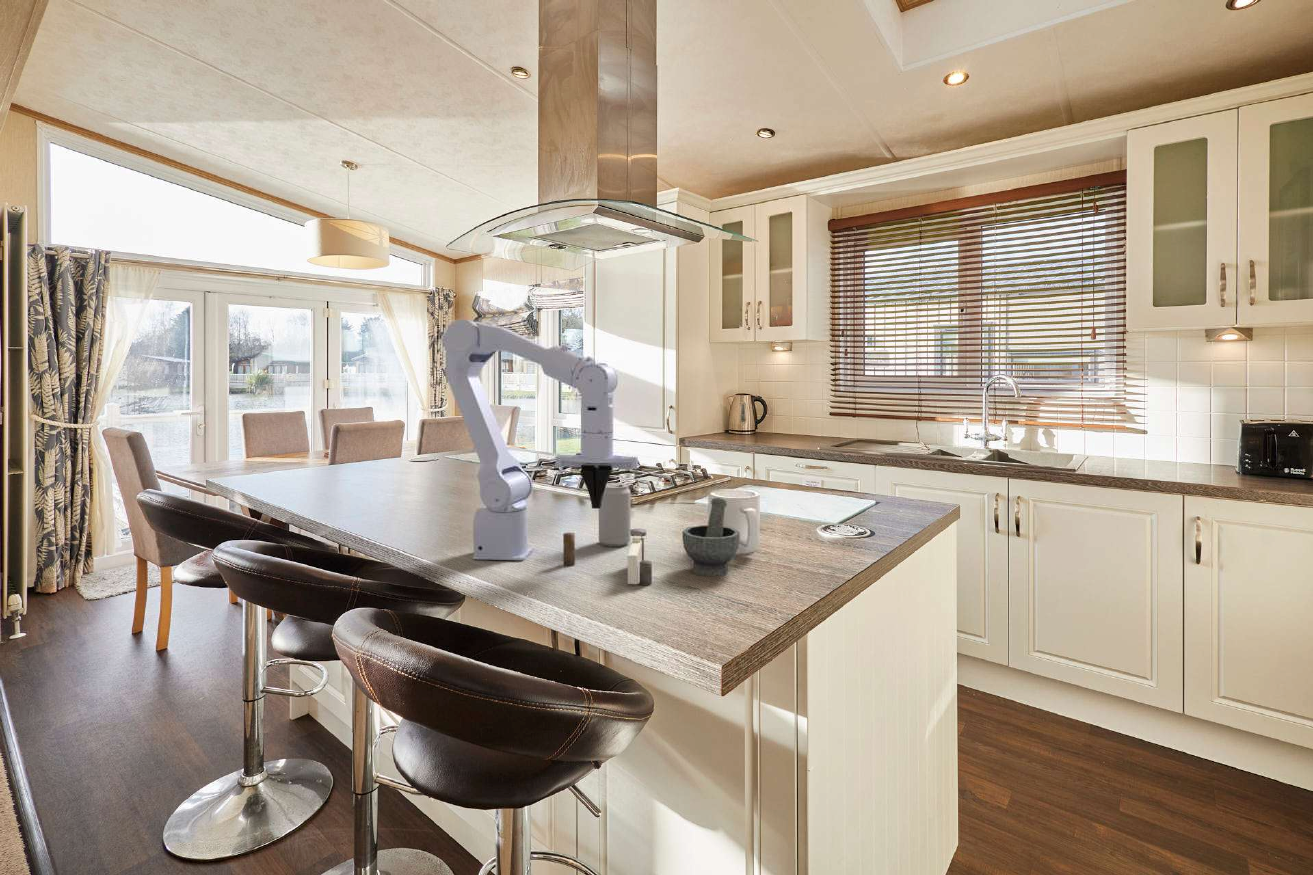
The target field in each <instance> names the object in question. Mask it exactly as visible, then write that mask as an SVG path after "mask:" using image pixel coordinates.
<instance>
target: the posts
mask: <svg viewBox="0 0 1313 875" xmlns="http://www.w3.org/2000/svg"><path fill="white" fill-rule="evenodd" d="M562 536H563V538H562V540H563V548H562V549H563V550H562V551H563V553H562V554H563V565H564V566H565V567H567V566H568V567H570V566H571V567H572V566H575V564H576V555H575V554H576V552H575V550H576V548H575V546H576V541H575V540H576V539H575V537H576V535H575V533H574V532H565V533H563V535H562ZM641 540H642V561H640V567H639V579H638V582H639V585H641V586H650V585H652V584H653V582H652V581H653V578H652V577H653V576H652V575H653V574H652V572H653V571H652V570H653V569H652V568H653V567H652V566H653V562H652V561H651V560H645V538H644V537H642V538H641Z"/></svg>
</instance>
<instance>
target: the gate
mask: <svg viewBox="0 0 1313 875" xmlns="http://www.w3.org/2000/svg"><path fill="white" fill-rule="evenodd" d="M630 535H631V537H633V538H632V543H631V546H630V548H629V551H628V554H627V585H638V582H639V567H640V561H642V540H641V538H644V537H646V536H647V529H645V528H631V530H630Z"/></svg>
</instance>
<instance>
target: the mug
mask: <svg viewBox="0 0 1313 875" xmlns="http://www.w3.org/2000/svg"><path fill="white" fill-rule="evenodd" d="M707 493H708V494H707V523H708V522H709V518H710V513H711V508H712V504H711V501H712V499H714V498H721V499H724V500H726V502H727V506H726V507H725V512H724V524H723V526H724V527H730V528H734V529H735V530H737V531H739V532H740V540H739V545H738V549H737V551H736V553H735V555H740V554H750V553H754V552H757V551H758V550H760V528H761V526H760V524H761V519H760V518H761V493H759V492H757V491H753V490H748V489H737V488H735V489H734V488H725V489H715V490H711V491H708V492H707Z"/></svg>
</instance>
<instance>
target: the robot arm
mask: <svg viewBox="0 0 1313 875" xmlns="http://www.w3.org/2000/svg"><path fill="white" fill-rule="evenodd" d="M441 342H442V345H443V347H444V349H445V376H446V379H447V383H448V385H449V387H450V390H451V392H452V395H453V398H454V399H455V402H456V405H457V407H458V409H459V412H460V415H461V417H462V420H463V422H464V425H465V427H466V430H467V432H468V434H469V437H470V440H471V442H472V444H473V447H474V450H475V453H476V456H478V459H479V461H480V467H479V469H478V471H477V473H476V474H477V475H476V477H477V480H478V483H479V497H480V500H481V502H482V503H483V505H484V506H485V507H479V508H477V509H476V510H475V513H474V517H473V523H472V524H473V525H472V528H473V529H472V531H473V532H472V533H473V536H472V537H473V556H472V559H473V560H494V561H495V560H497V561H524V560H525V559H526V558H527V557H528V556H529V554H530V553H531V552H532V551H534V546H529V545H528V514H527V513H528V508H527V506H528V503H527V502H528V501H527V499H528V498H529V497H530V496H531V494H532V492H533V482H532V478H531V477H530V475H529V474H528V473H527V472H526V471H525V470H524V469H523V467H522V465H521V463H520V461H519V460H518V459H517V458H515V457H514V456H513V454H511V453H510V451H509V449H508V447H507V445H506V442H505V439H504V437H503V435H502V433H501V432H502V431H501V430H500V428H499V424H498V422H497V420H496V417H495V415H494V412H493V410H492V408H491V405H490V402H489V400H488V397H487V395H486V392H485V390H484V388H483V385H482V382H481V380H480V377H479V376H480V374H481V373H482V370H483V368H484V366H485V365H486V364H487V363H488V362H489V361H490V359H491V358H492V357H494V356H495V354H496V353H497V352H504V351H506V352H507V353H511V354H513V355H515V356H518V357H521V358H523V359H526V360H528V361H530V362H533V363H535V364H538V365H540V367H541V369H542V372H543V373H544V375H545V376H548V377H550V378H552V379H554V380H556V381H558V382H561V383H563V384H565V385H567V386H570V387H571V388H573V389H576V390H577V391H578V392H579V394H580V398H581V399H580V454H557V455H556V456H555V468H562V467H563V468H565V467H566V468H569V467H571V468H573V467H574V468H580V471H579V472H580V475H581V478H582V479H583V482H584V484H585V486H586V489H587V492H588V494H589V495H588V496H589V499H590V503H591V509H595V510H596V509H598V510H599V509H600V507H601V504H602V498H603V494H604V490H605V487H606V484H607V483H609V482H608V481H609V479H610V477H611V474H612V472H613V471H614V469H631V470H637V469H638V468H639V467H638V466H639V457H638V456H629V455H628V456H626V455H614V392H615V390H616V388H617V386H618V380H619V379H618V374H617V373H616V371H615V370H614V368H612V367H611V366H610V365H608V364H607V363H595V362H594V361H595V357H592V356H588V355H587V356H586V357H585V356H583V355H581V354H579V353H576V352H574V351H572V347H571V346H569V345H566V344H562V345H554V346H552V347H551V346H550V347H549V348H547V347H545V346H543V345H541V344H539V343H538V342H535V341H533V340H531V339H529V338H527V337H525V336H523V335H521V334H519V333H517V332H515V331H513V330H511V329H508V328H505V327H502V326H498V325H495V324H492V323H490V322H478V321H473V320H468V319H466V318H458V319H455V320H453V321H451V323H450V324H448V327H447V329H446V330H445V333H444V335H443V337H442V339H441Z"/></svg>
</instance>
